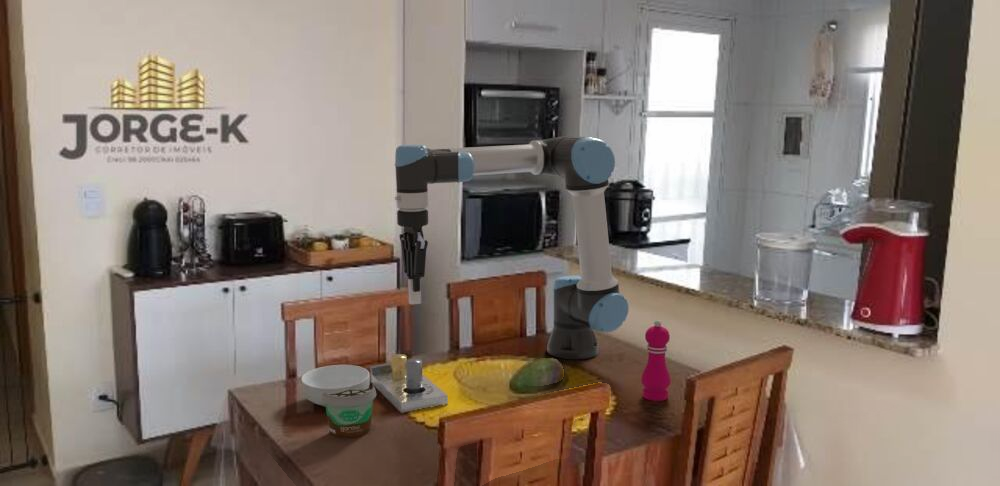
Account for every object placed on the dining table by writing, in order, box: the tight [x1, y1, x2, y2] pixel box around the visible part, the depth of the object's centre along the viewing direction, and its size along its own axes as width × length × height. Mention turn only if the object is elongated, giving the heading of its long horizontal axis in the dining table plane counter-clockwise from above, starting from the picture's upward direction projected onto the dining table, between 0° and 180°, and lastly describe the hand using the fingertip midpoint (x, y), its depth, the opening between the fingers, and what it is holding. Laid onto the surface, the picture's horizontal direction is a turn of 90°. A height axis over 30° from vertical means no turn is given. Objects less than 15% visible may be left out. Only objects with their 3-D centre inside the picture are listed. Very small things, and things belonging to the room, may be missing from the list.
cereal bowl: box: [300, 364, 371, 408], centre depth 198 cm, size 17×17×7 cm
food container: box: [322, 384, 377, 439], centre depth 178 cm, size 12×6×10 cm, turn 114°
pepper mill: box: [640, 319, 671, 402], centre depth 200 cm, size 7×7×20 cm
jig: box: [369, 353, 449, 414], centre depth 204 cm, size 12×24×8 cm, turn 27°
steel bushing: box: [406, 358, 423, 394], centre depth 199 cm, size 4×4×10 cm
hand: (415, 303), depth 198 cm, fingers closed
